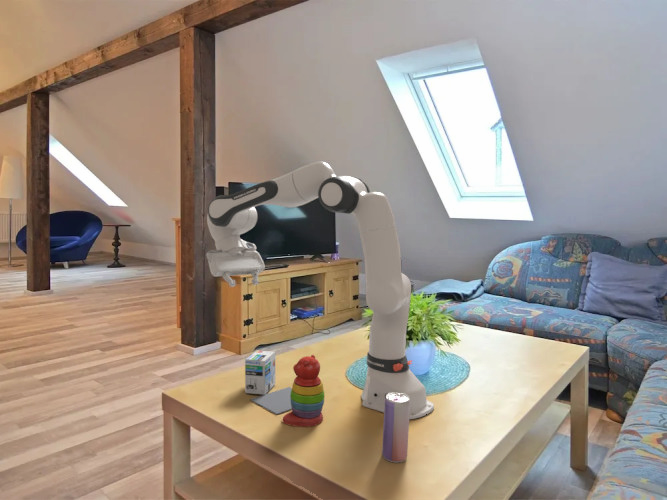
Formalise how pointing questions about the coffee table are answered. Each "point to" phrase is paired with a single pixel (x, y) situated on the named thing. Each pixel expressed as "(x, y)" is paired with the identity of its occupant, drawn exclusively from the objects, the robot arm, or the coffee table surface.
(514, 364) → the coffee table surface
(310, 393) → the stacking bear
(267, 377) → the light bulb box
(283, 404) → the mat
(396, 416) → the beverage can
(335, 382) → the coffee table surface
